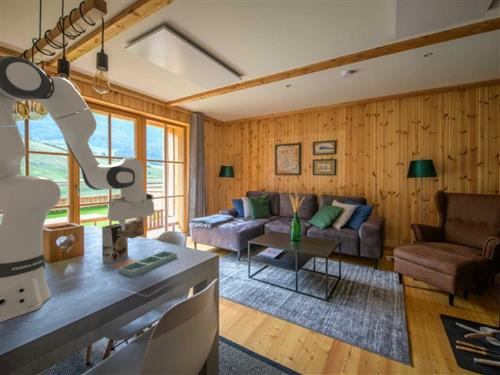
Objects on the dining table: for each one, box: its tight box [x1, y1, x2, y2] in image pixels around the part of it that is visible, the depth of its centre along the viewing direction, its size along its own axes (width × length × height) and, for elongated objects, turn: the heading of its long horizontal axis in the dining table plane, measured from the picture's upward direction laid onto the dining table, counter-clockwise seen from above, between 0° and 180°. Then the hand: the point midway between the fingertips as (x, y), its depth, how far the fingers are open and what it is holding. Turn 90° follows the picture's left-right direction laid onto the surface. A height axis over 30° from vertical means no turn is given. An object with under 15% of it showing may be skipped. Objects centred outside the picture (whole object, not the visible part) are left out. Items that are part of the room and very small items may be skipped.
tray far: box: [151, 250, 178, 264], centre depth 110 cm, size 8×8×2 cm
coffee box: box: [101, 223, 129, 263], centre depth 110 cm, size 9×6×16 cm
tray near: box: [118, 262, 151, 278], centre depth 96 cm, size 8×8×2 cm
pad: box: [111, 258, 139, 269], centre depth 103 cm, size 9×9×1 cm
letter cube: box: [122, 218, 145, 239], centre depth 102 cm, size 6×6×6 cm
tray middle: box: [137, 255, 165, 270], centre depth 103 cm, size 8×8×2 cm
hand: (132, 228), depth 102 cm, fingers closed on letter cube, 6 cm apart
